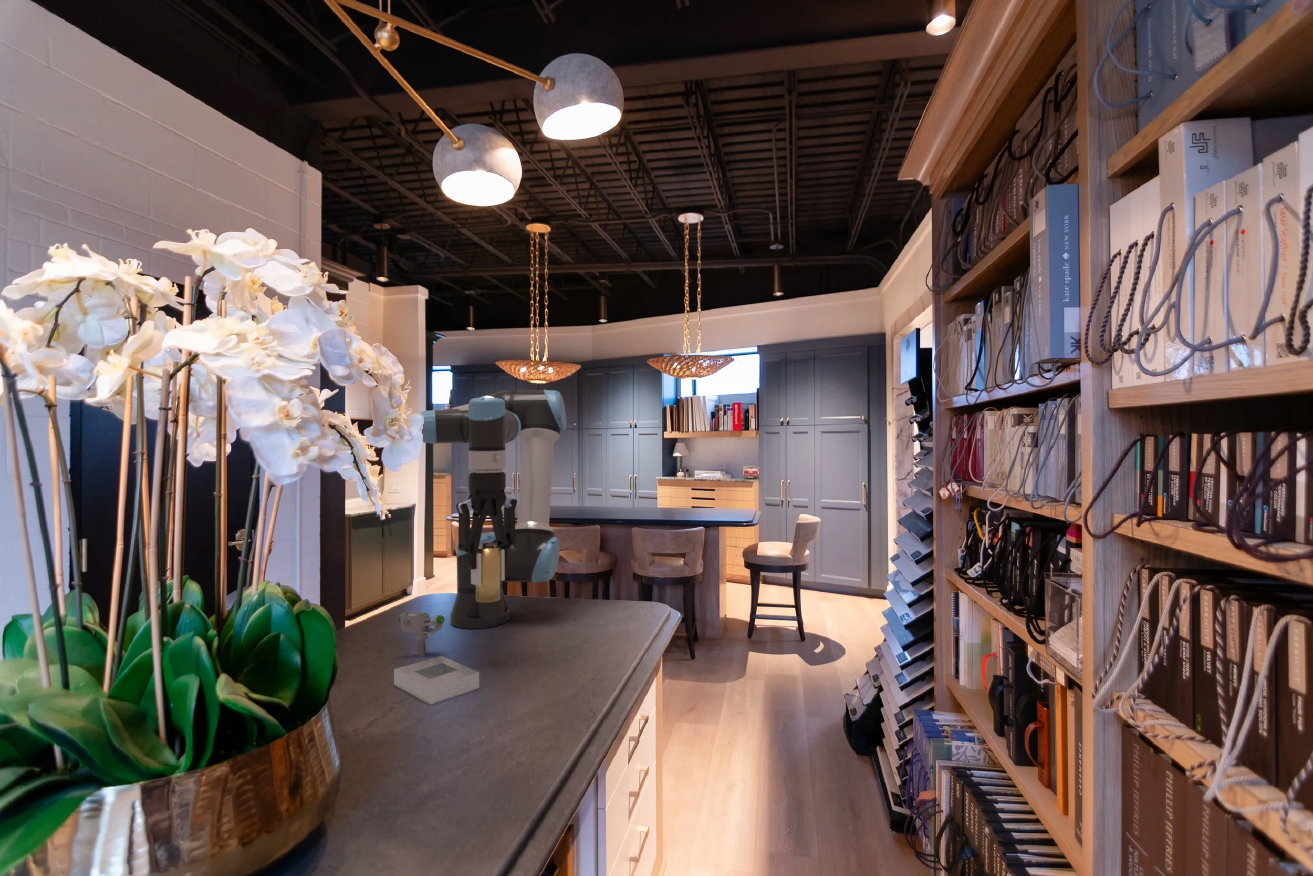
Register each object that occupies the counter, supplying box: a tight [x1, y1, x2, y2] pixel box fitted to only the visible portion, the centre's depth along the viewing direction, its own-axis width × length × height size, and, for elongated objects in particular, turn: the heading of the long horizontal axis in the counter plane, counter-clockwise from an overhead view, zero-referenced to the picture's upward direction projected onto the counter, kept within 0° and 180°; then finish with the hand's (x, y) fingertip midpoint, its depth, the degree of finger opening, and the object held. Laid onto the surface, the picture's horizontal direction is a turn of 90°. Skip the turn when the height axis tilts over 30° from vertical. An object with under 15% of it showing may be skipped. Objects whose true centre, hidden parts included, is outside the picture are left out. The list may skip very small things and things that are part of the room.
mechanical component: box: [398, 611, 445, 657], centre depth 140 cm, size 3×10×10 cm, turn 79°
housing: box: [393, 655, 480, 706], centre depth 122 cm, size 14×10×4 cm
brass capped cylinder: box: [476, 542, 500, 603], centre depth 133 cm, size 5×5×12 cm
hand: (487, 581), depth 133 cm, fingers closed on brass capped cylinder, 5 cm apart
